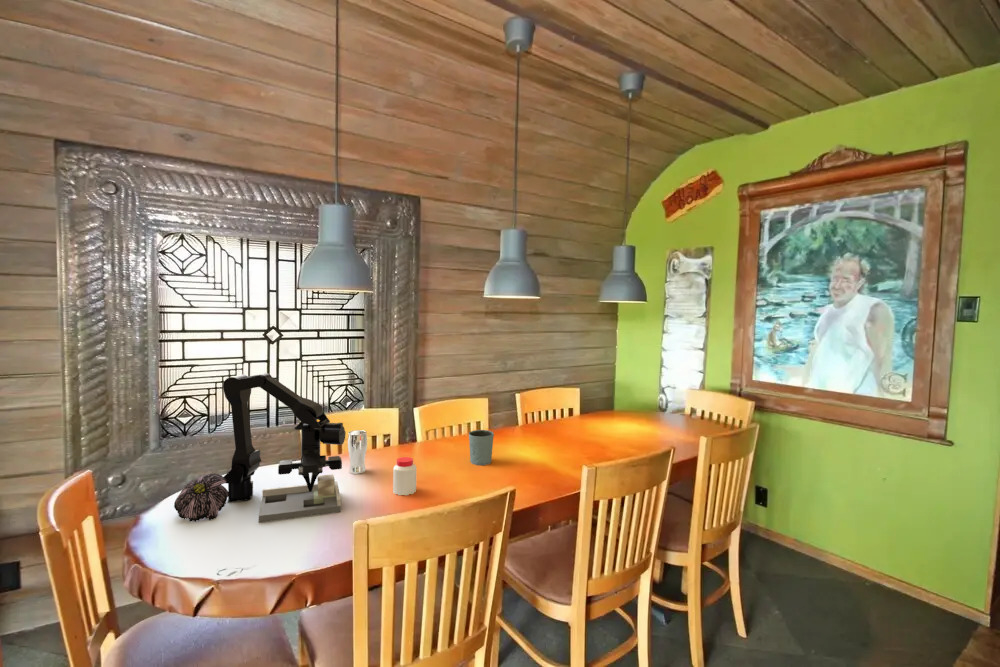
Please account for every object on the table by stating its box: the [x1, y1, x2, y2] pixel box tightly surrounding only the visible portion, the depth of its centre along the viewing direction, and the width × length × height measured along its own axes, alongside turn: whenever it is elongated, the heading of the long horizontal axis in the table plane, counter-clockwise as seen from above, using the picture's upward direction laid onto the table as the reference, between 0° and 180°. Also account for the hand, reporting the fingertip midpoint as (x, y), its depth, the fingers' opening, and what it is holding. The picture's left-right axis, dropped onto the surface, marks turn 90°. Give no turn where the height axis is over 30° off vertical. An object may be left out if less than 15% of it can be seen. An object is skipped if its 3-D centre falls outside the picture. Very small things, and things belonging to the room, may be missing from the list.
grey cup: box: [468, 429, 495, 466], centre depth 200 cm, size 10×10×12 cm
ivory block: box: [317, 473, 335, 496], centre depth 160 cm, size 5×5×5 cm
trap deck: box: [258, 480, 342, 524], centre depth 153 cm, size 22×16×4 cm
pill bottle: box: [392, 456, 417, 496], centre depth 168 cm, size 8×8×11 cm
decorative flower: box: [173, 473, 229, 523], centre depth 147 cm, size 14×12×15 cm
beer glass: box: [347, 429, 368, 475], centre depth 186 cm, size 7×7×15 cm
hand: (310, 491), depth 158 cm, fingers closed
